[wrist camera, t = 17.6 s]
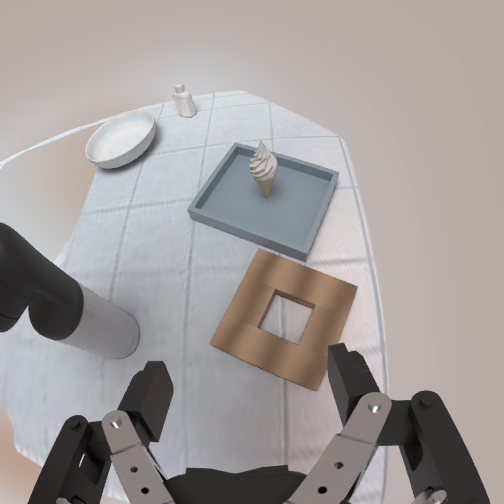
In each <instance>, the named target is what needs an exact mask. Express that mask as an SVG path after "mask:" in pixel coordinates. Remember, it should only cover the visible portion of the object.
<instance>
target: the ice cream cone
mask: <svg viewBox="0 0 504 504" xmlns="http://www.w3.org/2000/svg"><path fill="white" fill-rule="evenodd" d="M255 152H256V154H254V155H253V156H254V158H251V159H250V161H251V162H252V163H251V164H250V165H249V166H250V167H251V168H250V174H251V175H252V177H253V178H254V179H255V181H256V183H257V185H258V186H259V188H260V190H261V191H262V193H263V195H264V196H265V198H268V195H269V193H270V190H271V188H272V185H273V182H274V180H275V177H276V175H277V173H278V166H277V159H276V158H275V157H274V156H273V154H272V153H270V150H269V149H267V148H266V147H265V145H264V144H263V143H262V141H261V142H260V144H259V146H258V149H257V150H256V151H255Z"/></svg>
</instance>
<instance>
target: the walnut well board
mask: <svg viewBox="0 0 504 504" xmlns="http://www.w3.org/2000/svg"><path fill="white" fill-rule="evenodd" d="M357 288H358V286H355V285H352V284H350V283H347V282H345V281H342V280H340V279H337V278H335V277H332V276H329V275H327V274H324V273H322V272H319V271H316V270H314V269H311V268H309V267H306V266H304V265H301V264H298V263H296V262H293V261H291V260H288V259H285V258H283V257H280V256H278V255H275V254H272V253H270V252H267V251H265V250H262V249H258V251H257V253H256V255H255V257H254V258H253V260H252V262H251V264H250V266H249V268H248V270H247V272H246V274H245V276H244V278H243V280H242V282H241V284H240V286H239V288H238V290H237V291H236V293H235V295H234V297H233V299H232V301H231V303H230V305H229V307H228V309H227V311H226V313H225V315H224V317H223V319H222V321H221V322H220V324H219V326H218V328H217V330H216V332H215V334H214V336H213V338H212V340H211V342H210V344H211V345H213V346H214V347H216V348H218V349H220V350H222V351H224V352H226V353H228V354H231V355H233V356H235V357H237V358H239V359H241V360H243V361H245V362H248V363H250V364H252V365H254V366H256V367H259V368H261V369H263V370H265V371H268V372H270V373H272V374H275V375H277V376H279V377H282V378H284V379H287V380H289V381H291V382H294V383H296V384H299V385H301V386H304V387H307V388H309V389H312V390H314V391H317V390H318V388H319V386H320V384H321V381H322V379H323V377H324V375H325V372H326V370H327V368H328V345H333V344H337V343H338V341H339V338H340V336H341V333H342V330H343V328H344V325H345V322H346V320H347V317H348V314H349V311H350V308H351V306H352V303H353V300H354V297H355V294H356V291H357ZM275 294H276V295H279V296H281V297H284V298H286V299H289V300H291V301H294V302H296V303H299V304H301V305H304V306H306V307H309V308H311V309H314V310H313V312H312V315H311V317H310V319H309V322H308V324H307V326H306V329H305V331H304V333H303V336H302V338H301V340H300V343H299V345H297V344H295V343H292V342H290V341H288V340H285V339H283V338H280V337H278V336H276V335H273V334H271V333H269V332H266V331H264V330H262V329H259V328H260V326H261V324H262V322H263V320H264V318H265V315H266V313H267V311H268V309H269V307H270V305H271V303H272V301H273V298H274V296H275Z"/></svg>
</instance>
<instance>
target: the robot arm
mask: <svg viewBox="0 0 504 504" xmlns="http://www.w3.org/2000/svg"><path fill="white" fill-rule="evenodd" d="M27 306H28V311H29V318H30V321H31V324H32V326H33V327H34V329H35V330H36V331H37V332H38V333H39V334H40V335H42V336H44V337H46V338H49V339H52V340H55V341H58V342H61V343H64V344H67V345H70V346H73V347H76V348H79V349H83V350H86V351H89V352H93V353H96V354H100V355H103V356H107V357H110V358H115V359H122V358H125V357H127V356H129V355H130V354H131V353H132V352H133V351H134V350H135V348H136V347H137V344H138V341H139V327H138V324H137V322H136V320H135V319H134V318H133V317H132V316H131V315H130V314H128V313H127V312H125V311H123V310H122V309H120V308H119V307H117V306H115V305H114V304H112V303H110V302H109V301H107V300H106V299H104V298H102V297H101V296H99V295H98V294H96V293H94V292H93V291H91V290H90V289H88V288H87V287H85V286H83V285H82V284H80V283H79V282H77V281H76V280H74V279H73V278H72V277H70V276H69V275H67V274H66V273H65V272H63V271H62V270H61V269H60V268H58V267H57V266H56V265H55V264H53V263H52V262H50V261H49V260H48V259H47V258H45V257H44V256H43V255H42V254H41V253H39V252H38V251H37V250H36V249H35V248H34V247H33V246H32V245H31V244H29V243H28V242H27V241H26V240H25V239H24V238H23V237H22V236H21V235H20V234H19V233H18V232H16V231H15V230H14V229H12V228H11V227H10V226H8V225H6V224H4V223H0V332H6V331H8V330H9V329H11V328H12V327H13V326H14V325H15V324H16V323H17V321H18V320H19V318H20V317H21V315H22V314H23V312H24V311H25V309H26V308H27ZM328 378H329V382H330V385H331V388H332V392H333V395H334V398H335V401H336V405H337V408H338V411H339V415H340V418H341V422H342V425H343V430H342V432H341V433H340V434H336V435H335V437H334V438H333V439H332V441H331V442H330V444H329V445H328V447H327V448H326V450H325V451H324V453H323V454H322V456H321V457H320V459H319V460H318V462H317V463H316V464H315V466H314V467H313V469H312V470H311V471H310V473H309V474H308V475H306V474H303V473H300V472H295V471H288V465H282V466H271V467H261V468H257V469H254V470H250V471H246V472H241V473H237V474H234V473H228V472H223V471H219V470H214V469H207V468H187V469H186V474H182V475H178V476H175V477H172V478H170V479H168V477H167V476H166V475H165V473H164V472H163V470H162V468H161V467H160V465H159V463H158V462H157V460H156V458H155V456H154V455H153V453H152V451H151V449H150V448H149V443H150V442H159V439H160V435H161V432H162V429H163V425H164V422H165V419H166V415H167V412H168V409H169V406H170V402H171V399H172V396H173V383H172V381H171V378H170V376H169V373H168V371H167V368H166V366H165V363H164V362H163V361H148V362H147V364H146V366H145V368H144V370H143V371H139V372H138V373H137V374H136V375H135V376H134V377H133V378H132V380H131V382H130V385H129V386H128V388H127V391H126V392H125V394H124V397H123V399H122V401H121V403H120V405H119V407H118V409H117V410H116V411H112V412H109V413H108V414H107V415H105V416H104V418H103V420H102V421H97V422H88V421H87V420H86V418H85V417H83V416H81V415H75V416H72V417H70V418H69V419H67V420H66V422H65V423H64V425H63V427H62V429H61V431H60V433H59V435H58V437H57V439H56V441H55V443H54V445H53V447H52V449H51V451H50V453H49V455H48V458H47V460H46V462H45V464H44V466H43V468H42V471H41V473H40V475H39V477H38V480H37V482H36V485H35V487H34V489H33V492H32V494H31V496H30V499H29V502H28V504H100V500H101V496H102V493H103V489H104V486H105V483H106V479H107V476H108V473H109V469H110V466H111V463H113V466H114V468H115V471H116V473H117V475H118V478H119V480H120V482H121V484H122V487H123V489H124V491H125V493H126V495H127V497H128V499H129V501H130V503H131V504H351V503H349V501H350V499H351V498H352V496H353V494H354V493H355V491H356V489H357V488H358V486H359V484H360V482H361V480H362V478H363V476H364V474H365V472H366V470H367V468H368V466H369V464H370V462H371V461H372V459H373V457H374V455H375V453H376V450H377V448H378V446H392V445H398V446H399V448H400V452H401V455H402V458H403V461H404V464H405V467H406V470H407V474H408V477H409V480H410V483H411V487H412V490H413V494H414V497H415V500H414V501H413V502H412V503H411V504H490V501H489V498H488V496H487V493H486V490H485V488H484V486H483V483H482V481H481V479H480V476H479V474H478V471H477V469H476V467H475V465H474V463H473V460H472V458H471V456H470V454H469V452H468V450H467V448H466V446H465V444H464V442H463V440H462V438H461V435H460V433H459V432H458V430H457V428H456V426H455V424H454V422H453V420H452V418H451V416H450V414H449V412H448V411H447V409H446V407H445V405H444V403H443V401H442V400H441V398H440V397H439V395H438V394H436V393H435V392H432V391H420V392H418V393H416V394H415V395H414V396H413V397H412V399H411V400H403V401H396V400H391V399H390V398H389V397H388V396H387V395H385V394H383V393H381V392H380V390H379V388H378V386H377V384H376V382H375V380H374V378H373V376H372V374H371V372H370V370H369V368H368V366H367V364H366V362H365V360H364V358H363V356H362V355H361V354H359V353H358V352H357V351H351V352H348V350H347V348H346V346H345V344H344V343H338V344H333V345H328ZM83 454H84V455H85V456H84V458H83V461H82V463H81V466H80V468H79V464H80V461H81V458H82V456H83Z"/></svg>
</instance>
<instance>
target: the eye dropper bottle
mask: <svg viewBox="0 0 504 504" xmlns="http://www.w3.org/2000/svg"><path fill="white" fill-rule="evenodd" d="M175 90H176V91H175V92H174V93H173V98H174V101H175V104H176V107H177V110H178V113H179V115H180V116H182V117H193V116H194V115H195V114H196V110H195V107H194V103H193V99H192V96H191V94H190V92H188V91H187V90H185V88H184V85H183V83H180V82H179V80H177V81H176V85H175Z"/></svg>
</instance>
